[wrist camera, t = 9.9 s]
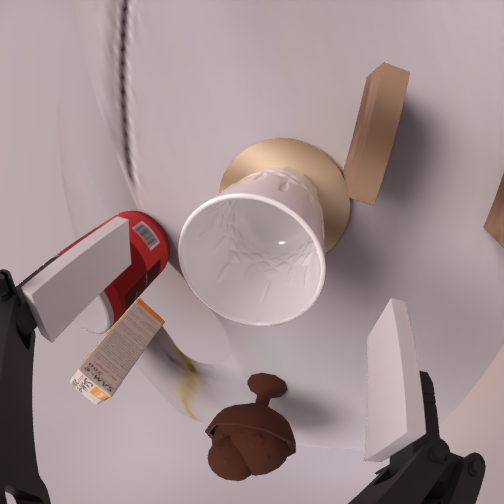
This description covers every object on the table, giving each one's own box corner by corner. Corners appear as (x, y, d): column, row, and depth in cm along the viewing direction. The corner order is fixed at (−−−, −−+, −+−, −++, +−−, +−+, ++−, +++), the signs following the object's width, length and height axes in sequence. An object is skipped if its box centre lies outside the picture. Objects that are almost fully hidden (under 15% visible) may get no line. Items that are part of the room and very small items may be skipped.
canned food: (112, 201, 28) (37, 247, 19) (173, 217, 27) (100, 277, 18) (116, 260, 32) (57, 313, 23) (172, 280, 31) (116, 347, 21)
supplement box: (138, 295, 34) (76, 367, 23) (166, 320, 34) (112, 398, 23) (118, 320, 38) (67, 382, 27) (142, 342, 39) (96, 407, 28)
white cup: (344, 183, 21) (354, 237, 12) (304, 262, 25) (286, 345, 16) (251, 143, 21) (196, 169, 13) (222, 226, 25) (168, 290, 17)
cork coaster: (231, 126, 21) (229, 126, 21) (366, 160, 20) (367, 161, 19) (214, 242, 27) (212, 245, 26) (327, 275, 26) (327, 279, 25)
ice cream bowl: (243, 403, 40) (212, 485, 27) (218, 358, 35) (173, 455, 23) (310, 406, 36) (291, 498, 23) (299, 358, 32) (272, 475, 19)
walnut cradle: (366, 77, 17) (383, 62, 11) (520, 155, 15) (566, 176, 9) (343, 172, 21) (349, 197, 15) (493, 232, 19) (529, 271, 13)
